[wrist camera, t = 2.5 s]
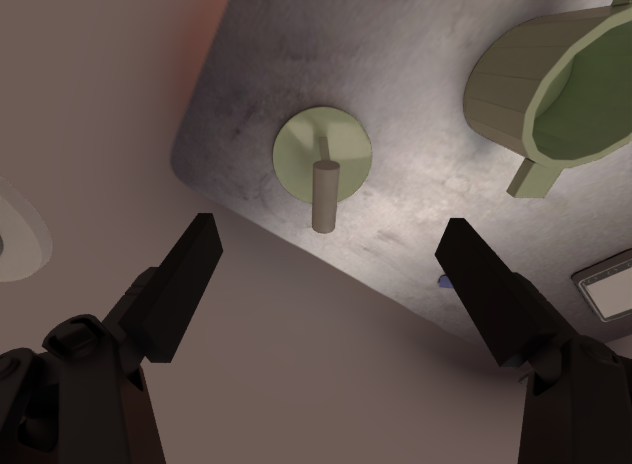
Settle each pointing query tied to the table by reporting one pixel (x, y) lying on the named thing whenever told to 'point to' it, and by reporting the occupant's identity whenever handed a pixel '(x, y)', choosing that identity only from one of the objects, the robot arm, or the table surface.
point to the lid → (322, 160)
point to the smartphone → (608, 287)
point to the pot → (556, 92)
